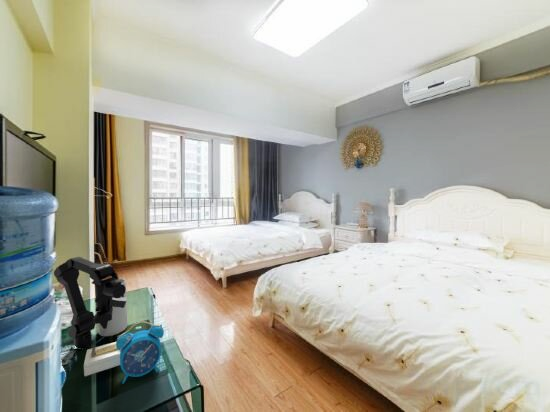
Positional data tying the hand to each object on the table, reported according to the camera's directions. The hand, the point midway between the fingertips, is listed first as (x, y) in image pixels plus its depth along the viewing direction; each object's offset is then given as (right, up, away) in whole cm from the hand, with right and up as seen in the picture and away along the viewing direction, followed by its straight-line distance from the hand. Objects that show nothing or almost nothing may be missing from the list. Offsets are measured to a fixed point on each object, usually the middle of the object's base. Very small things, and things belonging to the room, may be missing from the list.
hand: (105, 328), depth 106 cm
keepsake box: (+4, -12, -4) cm, 13 cm away
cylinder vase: (-9, -11, +19) cm, 24 cm away
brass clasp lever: (+5, -7, -4) cm, 9 cm away
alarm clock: (+22, -13, -10) cm, 27 cm away
